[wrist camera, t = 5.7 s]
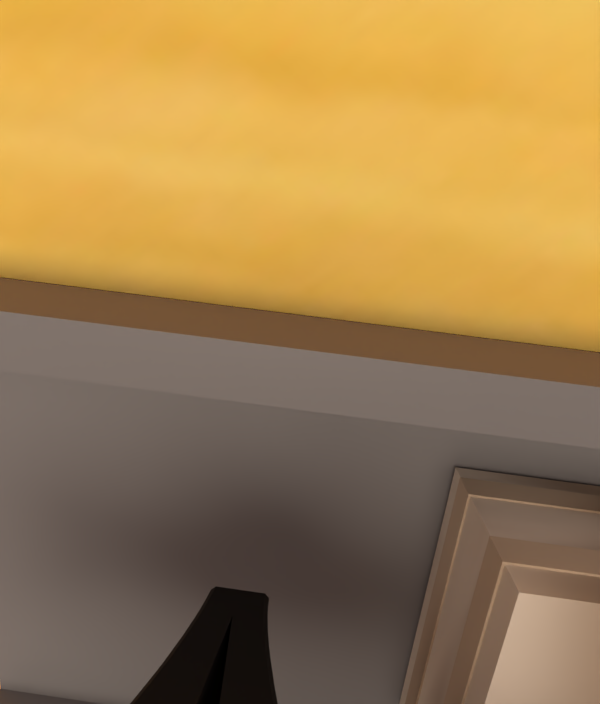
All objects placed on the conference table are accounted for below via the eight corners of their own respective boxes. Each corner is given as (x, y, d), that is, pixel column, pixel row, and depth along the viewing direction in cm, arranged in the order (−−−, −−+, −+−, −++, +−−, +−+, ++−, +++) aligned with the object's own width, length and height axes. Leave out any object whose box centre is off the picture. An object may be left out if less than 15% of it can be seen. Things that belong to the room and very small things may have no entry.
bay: (833, 382, 11) (1012, 439, 8) (638, 790, 15) (711, 925, 12) (-21, 275, 12) (-137, 293, 9) (15, 697, 16) (-56, 805, 13)
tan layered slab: (702, 498, 11) (893, 642, 7) (603, 734, 14) (710, 936, 10) (454, 465, 11) (517, 589, 8) (397, 703, 14) (423, 891, 10)
